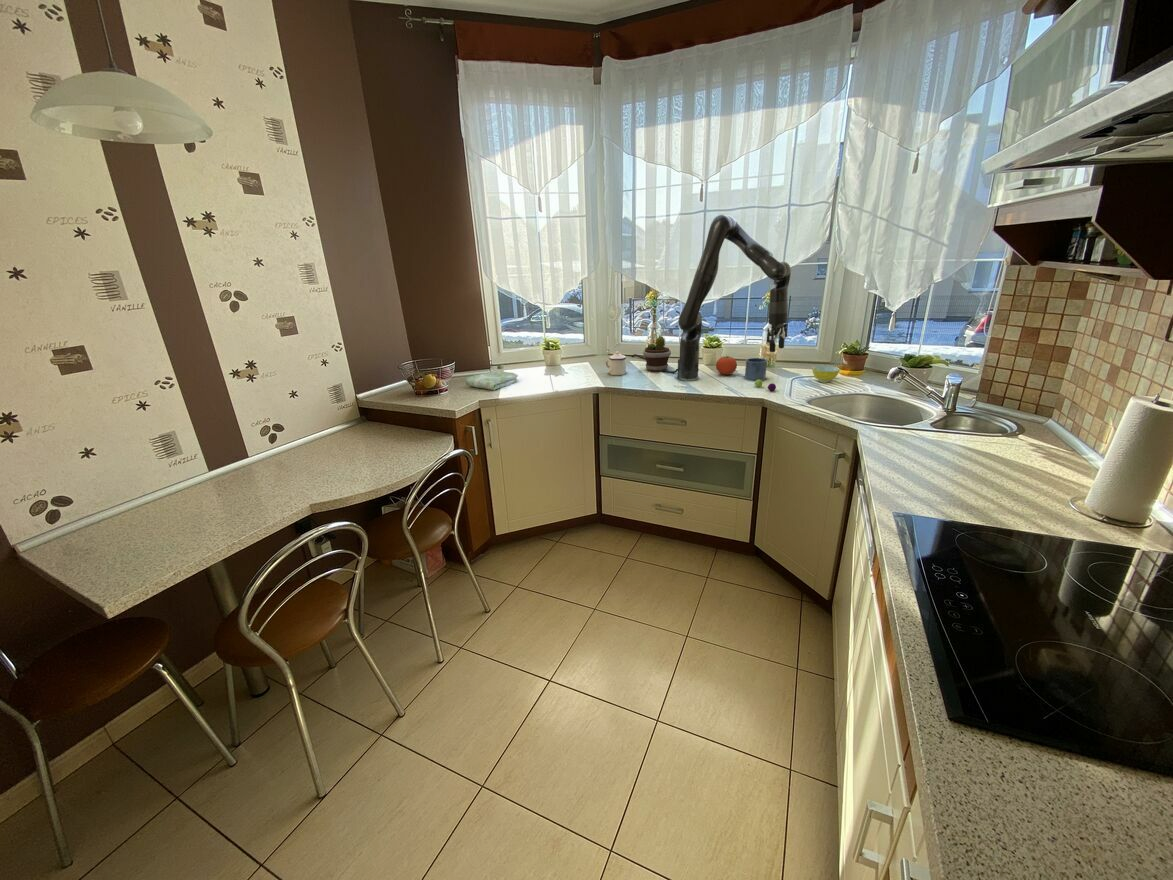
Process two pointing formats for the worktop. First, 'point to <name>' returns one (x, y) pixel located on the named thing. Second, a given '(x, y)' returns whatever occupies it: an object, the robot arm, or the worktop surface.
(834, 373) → the bowl
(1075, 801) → the worktop surface
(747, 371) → the cup
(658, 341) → the flowerpot
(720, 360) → the tomato
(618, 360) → the teacup with lid
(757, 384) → the green grape
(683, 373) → the robot arm
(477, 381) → the towel
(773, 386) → the purple grape
